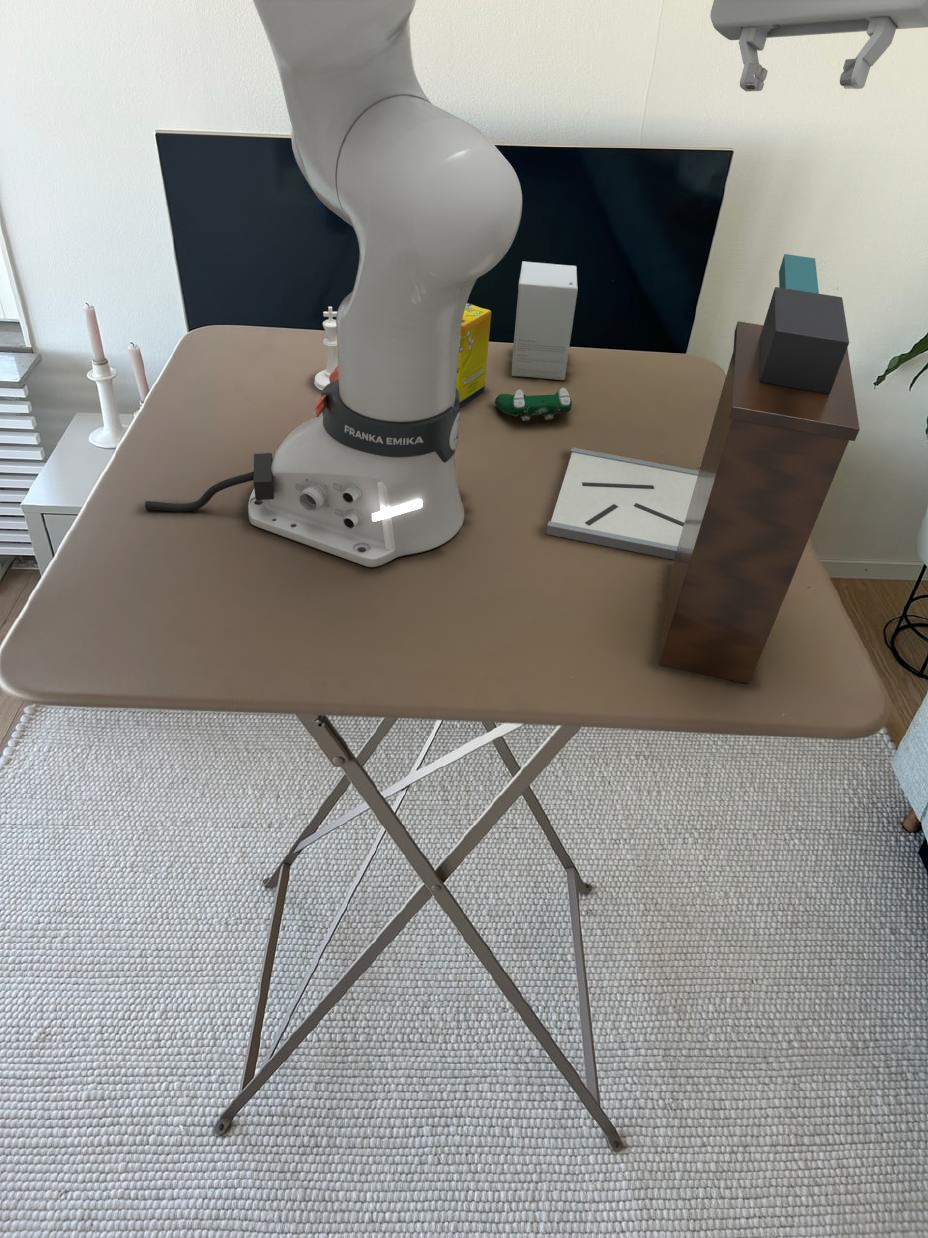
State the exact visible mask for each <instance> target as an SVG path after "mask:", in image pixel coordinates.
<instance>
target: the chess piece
mask: <svg viewBox="0 0 928 1238" xmlns="http://www.w3.org/2000/svg"><path fill="white" fill-rule="evenodd" d="M327 308H328V311H323V312H322V313H323V314H322V315H323V317H324V318H325V317H327V318H328V319H325V320H323V321H322V327H323V330H324V331H325V335H326V337H325V338H324V339H323V341H322V343H323V345H324V346H326V347H327V360H326V362H327V363H326V368H325V369H323V370H321V371H319V372H318V373H316V375H315V376H314V383H313V384H314V386H315V387H316V389H318V390H319V391H322V390H323V389H324V388H325V386H326V385H328V384H329V383H330V381H329V377H330V374H331V373H332V372H334V370H335V368H336V367H337V366H338V353H337V329H336V319H334V318H336V316H337V311H333V306H328V307H327Z"/></svg>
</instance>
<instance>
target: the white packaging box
mask: <svg viewBox="0 0 928 1238" xmlns="http://www.w3.org/2000/svg"><path fill="white" fill-rule="evenodd" d="M577 268H578V267H577V265H571V264H570V265H569V264H556V263H546V262H535V261H534V262H533V261H523V260H522V262H521V267H520V273H519V280H518V289H517V290H518V293H517V304H516V313H515V326H514V335H513V348H512V357H511V358H512V360H511V376H512V377H522V378H534V379H545V380H556V381H565V379H566V373H567V366H568V360H569V352H570V345H571V339H572V331H573V324H574V318H575V312H576V311H575V310H576V304H577V297H578V291H579V290H578V289H579V288H578V271H577Z"/></svg>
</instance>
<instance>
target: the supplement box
mask: <svg viewBox="0 0 928 1238" xmlns="http://www.w3.org/2000/svg"><path fill="white" fill-rule="evenodd" d="M491 319H492V311H491V310H490V309H487V308H483V307H480V306H477V305H474V304H472V303H470V302H467V304H466V307H465V310H464V314H463V319H462V324H461V330H460V341H459V353H458V367H457V381H456V388H457V389H458V391H459V395H460V408H461V407H463V406H464V405H465V404H467V403H468V402H470V401H471V400H473V399H474V398H476V397H477V396H479V395H480V394H482V393H483V392H484V391H485V386H486V376H487V375H486V374H487V364H488V354H489V353H488V352H489V342H490V331H491V321H492V320H491Z"/></svg>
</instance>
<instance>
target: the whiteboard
mask: <svg viewBox="0 0 928 1238" xmlns="http://www.w3.org/2000/svg"><path fill="white" fill-rule="evenodd" d="M698 473H699V470H696V469H692V468H685V467H681V466H675V465H669V464H664V463H660V462H659V463H658V462H654V461H648V460H644V459H637V458H632V457H626V456H621V455H616V454H610V453H604V452H600V451H595V450H588V449H583V448H578V447H571V448H570V453H569V457H568V464H567V467H566V470H565V473H564V478H563V481H562V484H561V486H560V491H559V493H558V497H557V500H556V503H555V506H554V510H553V513H552V517H551V520H548V522H547V526H546V531H545V534H546V535H549V536H554V537H559V538H564V539H569V540H573V541H579V542H583V543H589V544H594V545H598V546H604V547H609V548H612V549H613V548H615V549H618V550H619V549H620V550H624V551H628V552H629V551H630V552H632V553H633V552H635V553H639V554H643V555H647V556H648V555H650V556H654V557H659V558H663V559H668V560H673V561H674V557H675V554H676V550H677V547H678V543H679V540H680V536H681V533H682V529H683V526H684V522H685V519H686V515H687V512H688V508H689V505H690V501H691V498H692V494H693V491H694V487H695V484H696V480H697V477H698Z"/></svg>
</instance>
